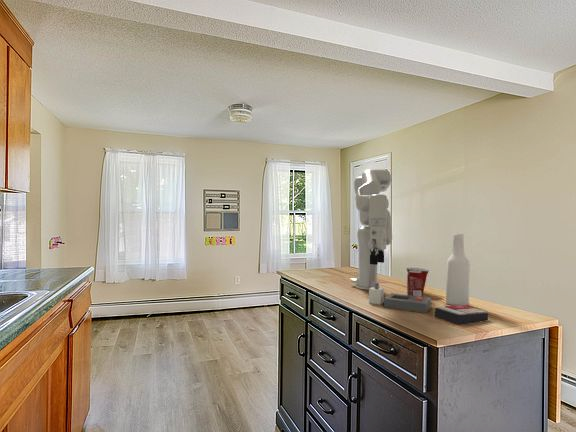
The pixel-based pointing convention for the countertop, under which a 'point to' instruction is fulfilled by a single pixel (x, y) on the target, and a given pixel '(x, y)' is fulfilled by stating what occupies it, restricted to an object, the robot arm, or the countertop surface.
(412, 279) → the soda can
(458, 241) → the alcohol
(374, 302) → the plug
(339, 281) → the countertop surface
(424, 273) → the plastic cup
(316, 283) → the countertop surface
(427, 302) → the socket plate
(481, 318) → the button control panel
